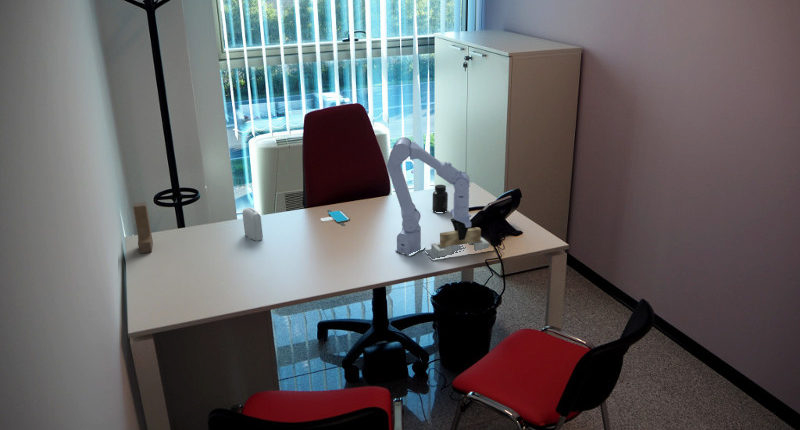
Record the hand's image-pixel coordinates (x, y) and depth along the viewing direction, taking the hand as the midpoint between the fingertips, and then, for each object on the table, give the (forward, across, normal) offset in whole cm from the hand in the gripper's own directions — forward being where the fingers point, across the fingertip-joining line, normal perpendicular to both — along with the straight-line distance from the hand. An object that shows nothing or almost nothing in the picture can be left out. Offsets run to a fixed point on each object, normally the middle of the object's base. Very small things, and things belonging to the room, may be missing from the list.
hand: (460, 237), depth 246 cm
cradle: (+6, 0, 0) cm, 6 cm away
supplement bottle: (+6, +42, -9) cm, 44 cm away
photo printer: (+6, +42, +74) cm, 85 cm away
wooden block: (+6, +45, +115) cm, 124 cm away
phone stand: (+6, +51, +38) cm, 64 cm away
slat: (+2, 0, 0) cm, 2 cm away
